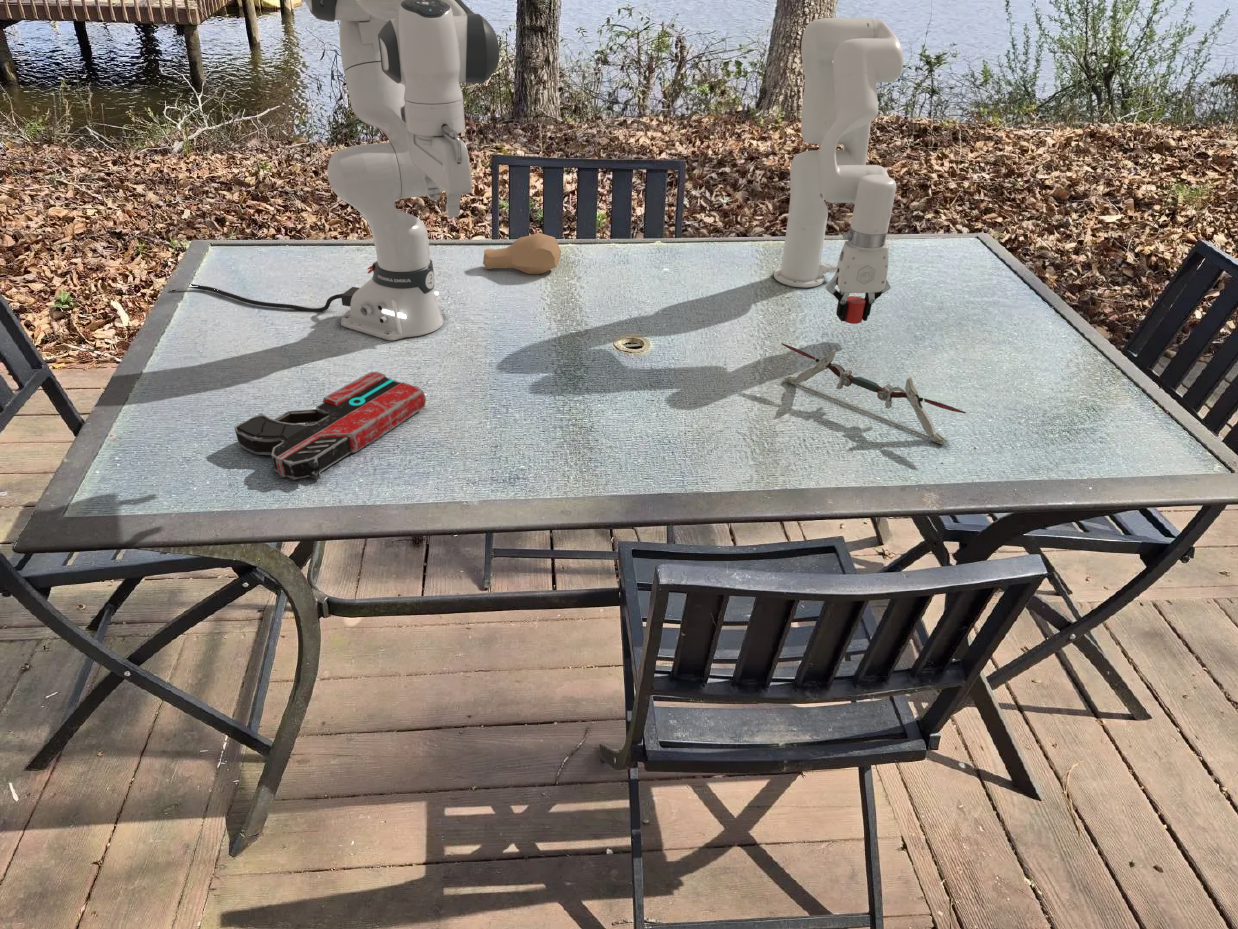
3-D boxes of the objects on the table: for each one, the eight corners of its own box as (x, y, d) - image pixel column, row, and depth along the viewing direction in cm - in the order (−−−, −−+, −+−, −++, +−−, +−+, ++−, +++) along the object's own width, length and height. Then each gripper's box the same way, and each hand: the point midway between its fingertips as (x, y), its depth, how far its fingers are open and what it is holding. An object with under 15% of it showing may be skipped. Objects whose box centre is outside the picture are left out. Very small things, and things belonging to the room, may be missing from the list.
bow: (958, 447, 158) (972, 398, 152) (954, 450, 157) (967, 402, 151) (779, 375, 179) (785, 330, 174) (774, 378, 178) (780, 333, 172)
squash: (562, 278, 220) (556, 246, 214) (484, 285, 222) (476, 253, 216) (564, 255, 228) (559, 224, 222) (489, 262, 230) (481, 231, 223)
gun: (219, 431, 148) (300, 468, 140) (353, 358, 170) (430, 387, 162) (225, 453, 150) (305, 490, 143) (356, 378, 172) (432, 408, 164)
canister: (839, 321, 191) (843, 301, 189) (844, 313, 195) (848, 294, 192) (859, 325, 190) (863, 305, 187) (863, 318, 193) (867, 298, 190)
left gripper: (478, 131, 129) (484, 223, 136) (434, 103, 143) (441, 188, 151) (437, 135, 126) (445, 229, 134) (396, 106, 141) (406, 192, 149)
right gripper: (833, 244, 178) (819, 326, 188) (913, 243, 180) (895, 325, 190) (822, 231, 184) (809, 312, 194) (899, 230, 186) (882, 310, 196)
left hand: (443, 207), depth 143 cm, fingers open, 8 cm apart
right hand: (852, 317), depth 192 cm, fingers closed on canister, 4 cm apart
